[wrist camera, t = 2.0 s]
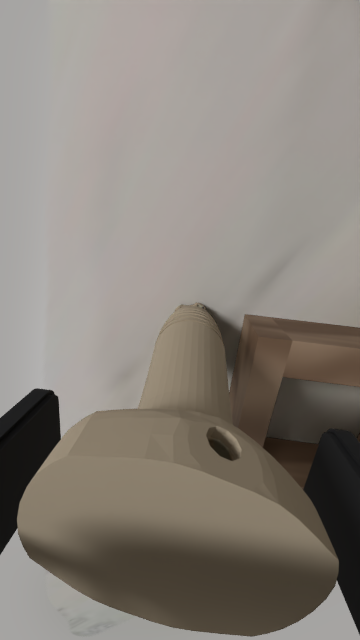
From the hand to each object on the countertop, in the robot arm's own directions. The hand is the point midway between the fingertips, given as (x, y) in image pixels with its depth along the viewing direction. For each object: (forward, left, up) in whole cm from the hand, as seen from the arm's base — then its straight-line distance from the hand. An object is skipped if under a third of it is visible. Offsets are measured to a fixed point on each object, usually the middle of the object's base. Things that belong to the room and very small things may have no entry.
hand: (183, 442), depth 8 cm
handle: (-1, 0, -12) cm, 12 cm away
